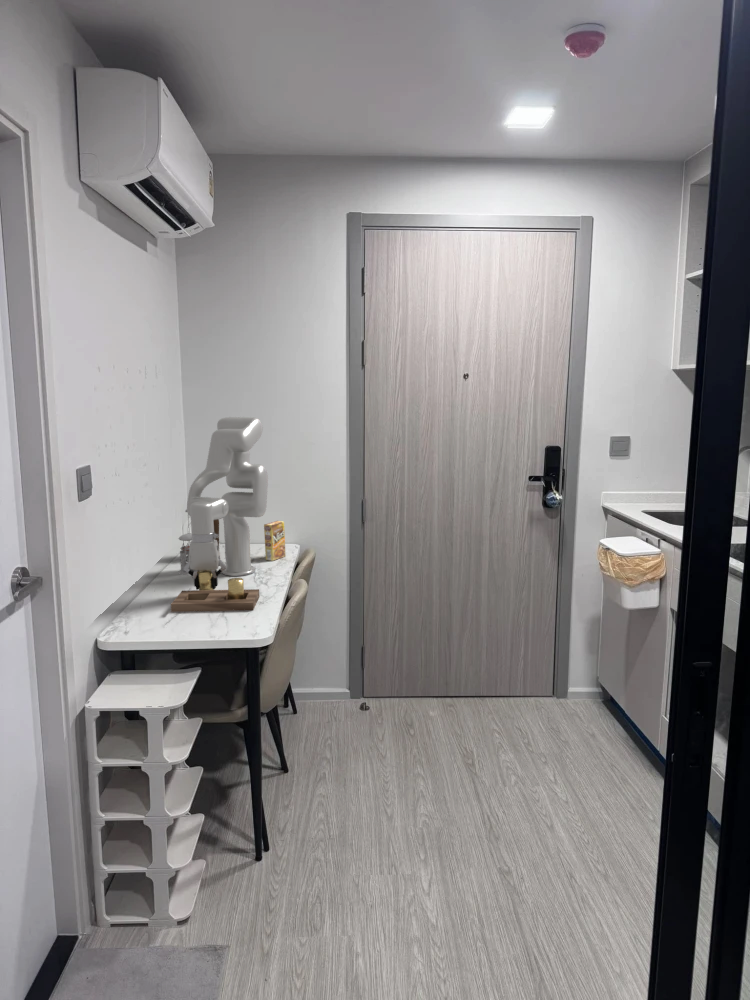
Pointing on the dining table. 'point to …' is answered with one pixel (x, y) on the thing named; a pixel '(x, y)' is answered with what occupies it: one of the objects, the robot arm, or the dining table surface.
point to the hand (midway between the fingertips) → (206, 587)
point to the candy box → (274, 540)
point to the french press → (185, 551)
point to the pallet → (213, 601)
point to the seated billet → (236, 588)
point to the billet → (205, 579)
